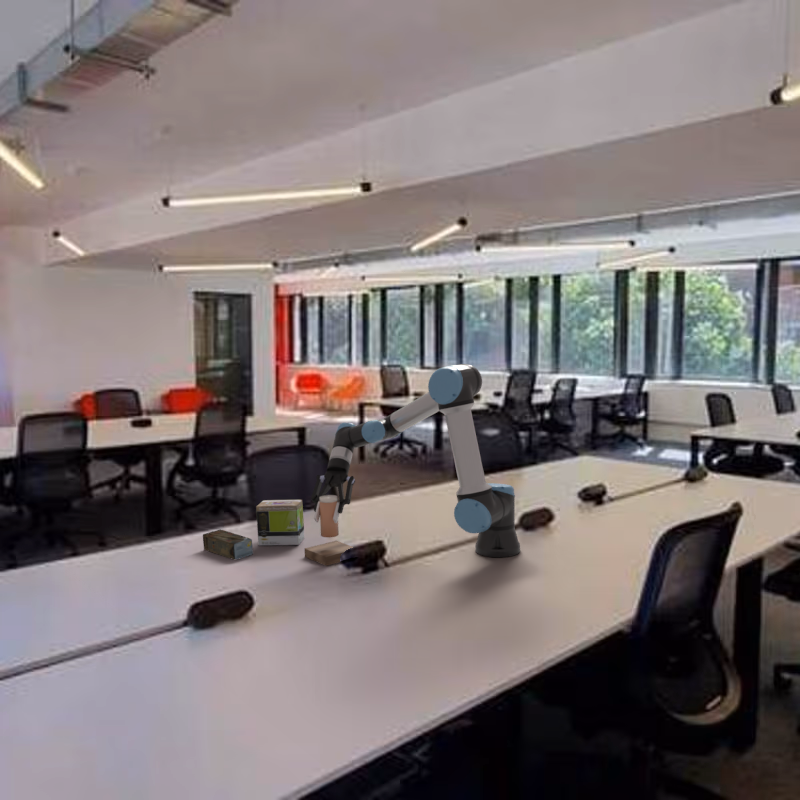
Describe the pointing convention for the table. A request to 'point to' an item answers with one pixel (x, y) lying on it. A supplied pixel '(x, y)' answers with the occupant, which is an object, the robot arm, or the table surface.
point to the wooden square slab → (326, 552)
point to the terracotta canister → (328, 516)
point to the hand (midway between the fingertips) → (325, 520)
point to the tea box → (280, 522)
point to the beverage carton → (227, 544)
